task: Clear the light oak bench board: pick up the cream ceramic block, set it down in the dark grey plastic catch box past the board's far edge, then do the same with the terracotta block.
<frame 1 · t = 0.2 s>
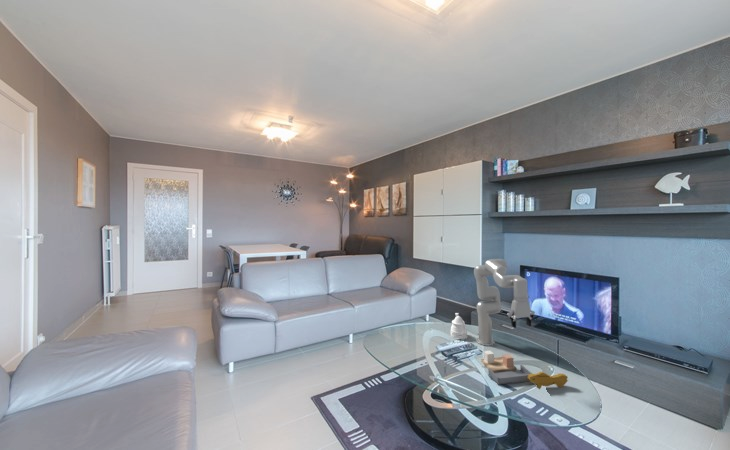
hand: (521, 326, 177), 31 cm above the table, fingers open, 9 cm apart
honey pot: (458, 336, 235), on the table
bench board: (498, 366, 189), on the table
terracotta block: (508, 365, 186), point 2 cm above the table, touching bench board
catch box: (510, 377, 176), on the table
cream block: (489, 361, 192), point 2 cm above the table, touching bench board
decorative fish: (547, 387, 166), on the table
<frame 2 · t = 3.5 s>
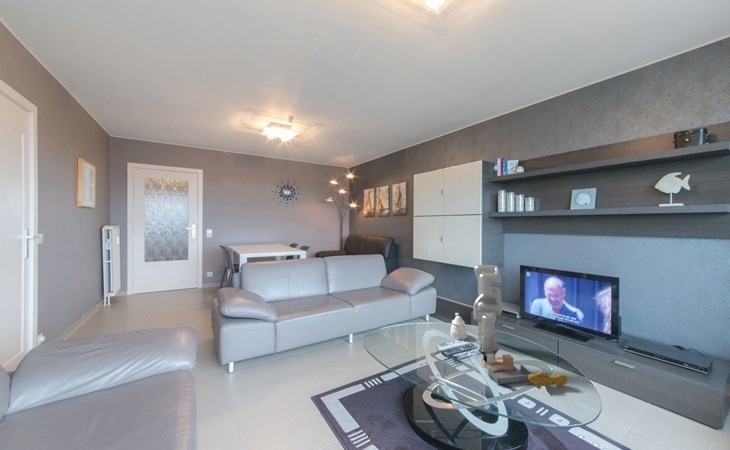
hand: (489, 360, 192), 3 cm above the table, fingers closed on cream block, 4 cm apart
cream block: (489, 361, 192), point 2 cm above the table, touching bench board, gripper
everything else where it was.
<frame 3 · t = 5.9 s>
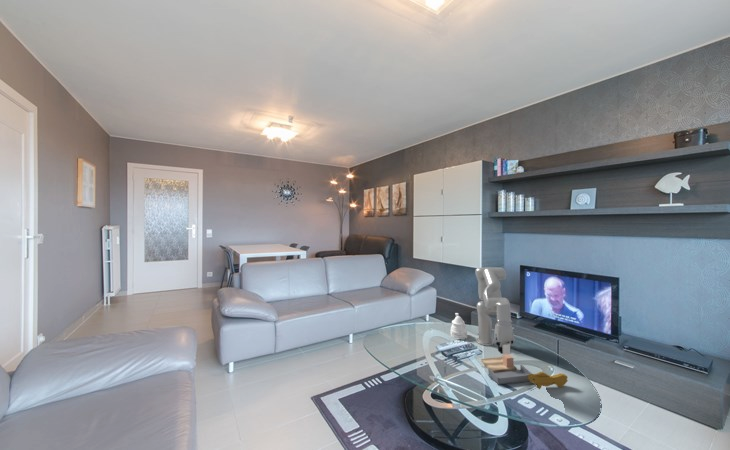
hand: (504, 351, 175), 17 cm above the table, fingers closed on cream block, 4 cm apart
cream block: (504, 352, 175), point 16 cm above the table, touching gripper
everything else where it was.
when the fingers open (3 cm above the table, at t = 8.2 s): cream block drops 2 cm, resting on catch box.
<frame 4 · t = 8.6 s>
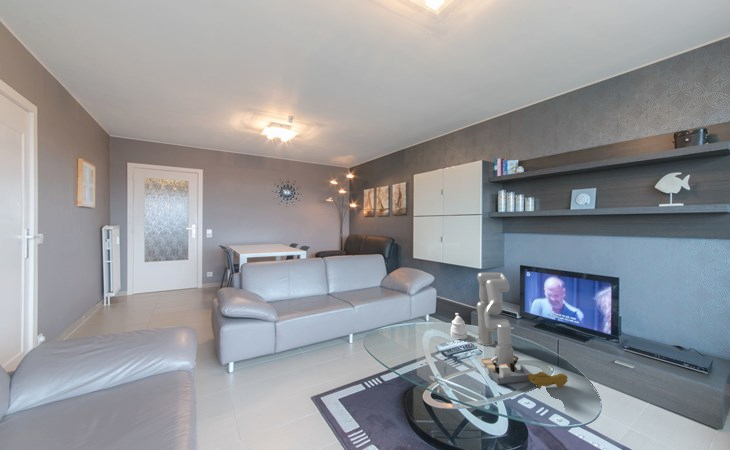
hand: (504, 371, 176), 4 cm above the table, fingers open, 9 cm apart
cream block: (505, 377, 176), point 1 cm above the table, touching catch box
everything else where it was.
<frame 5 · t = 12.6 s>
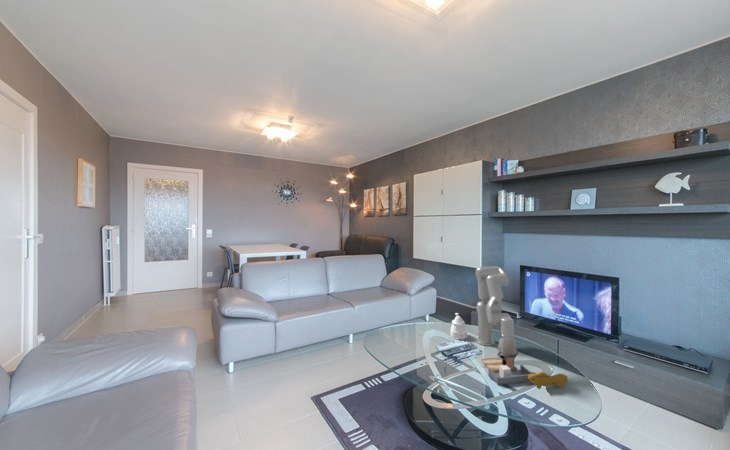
hand: (508, 364, 186), 3 cm above the table, fingers closed on terracotta block, 4 cm apart
terracotta block: (508, 365, 186), point 2 cm above the table, touching bench board, gripper
everything else where it was.
when the fingers open (3 cm above the table, at t = 17.0 s): terracotta block drops 2 cm, resting on catch box.
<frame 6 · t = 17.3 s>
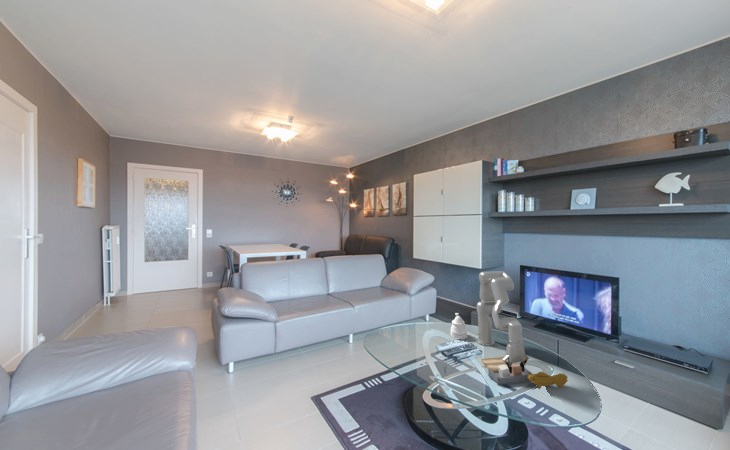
hand: (516, 371, 176), 4 cm above the table, fingers open, 7 cm apart
terracotta block: (516, 375, 177), point 1 cm above the table, touching catch box
cream block: (504, 376, 176), point 1 cm above the table, tilted 11°, touching catch box
everything else where it was.
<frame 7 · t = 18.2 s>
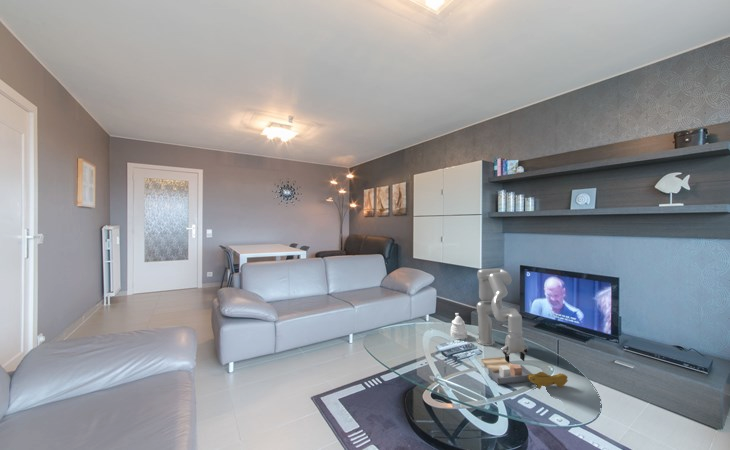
hand: (514, 360, 177), 10 cm above the table, fingers open, 9 cm apart
cream block: (505, 377, 176), point 1 cm above the table, touching catch box
everything else where it was.
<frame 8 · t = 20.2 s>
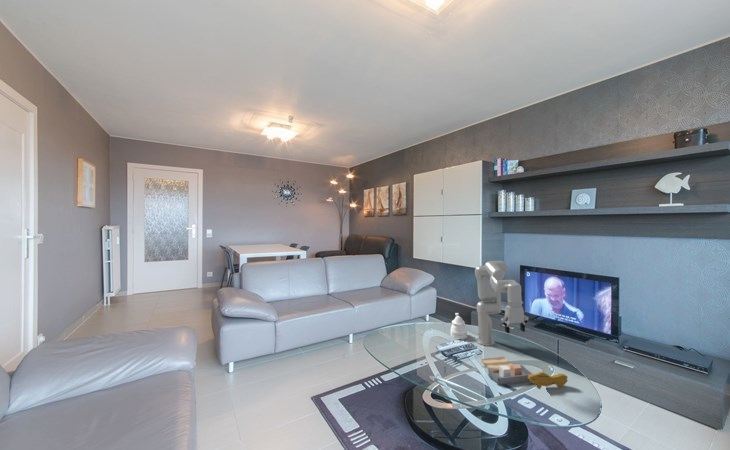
hand: (515, 331, 175), 28 cm above the table, fingers open, 9 cm apart
nothing on the table moved.
at the end: cream block inside the target area on the catch box (3.5 cm from its centre), point 0.8 cm above the catch box's base; terracotta block inside the target area on the catch box (3.7 cm from its centre), point 0.8 cm above the catch box's base; terracotta block touching catch box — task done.
